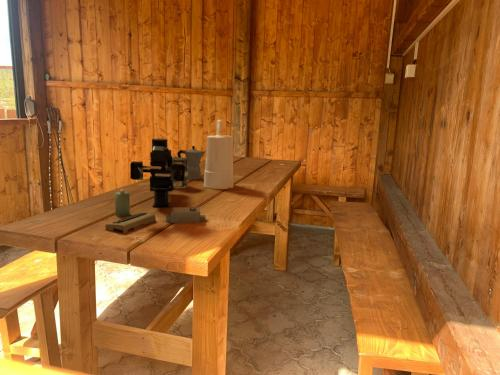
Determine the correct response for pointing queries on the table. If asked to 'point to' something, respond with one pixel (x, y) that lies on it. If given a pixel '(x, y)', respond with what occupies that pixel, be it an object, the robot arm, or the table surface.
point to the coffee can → (184, 161)
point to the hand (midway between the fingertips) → (156, 176)
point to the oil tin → (122, 203)
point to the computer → (131, 222)
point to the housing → (185, 215)
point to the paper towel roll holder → (219, 161)
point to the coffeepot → (192, 162)
